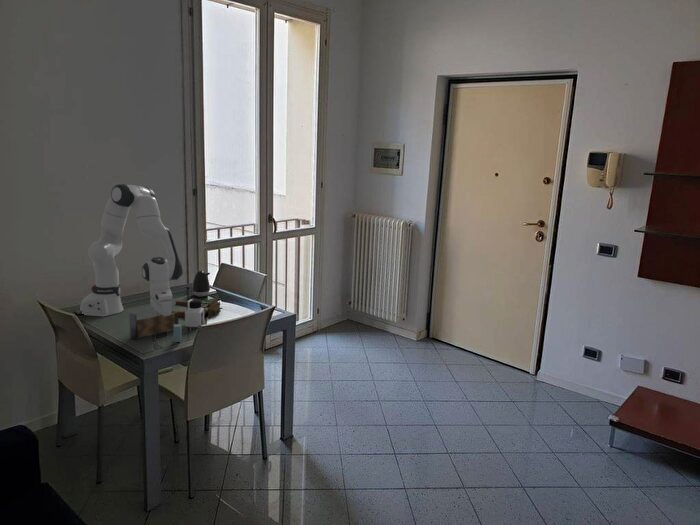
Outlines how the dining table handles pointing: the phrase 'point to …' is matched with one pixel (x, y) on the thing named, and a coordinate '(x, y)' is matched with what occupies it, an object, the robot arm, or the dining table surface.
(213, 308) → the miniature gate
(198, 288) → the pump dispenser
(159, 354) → the dining table surface
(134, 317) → the hinge post
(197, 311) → the container
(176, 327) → the latch post
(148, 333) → the gate
